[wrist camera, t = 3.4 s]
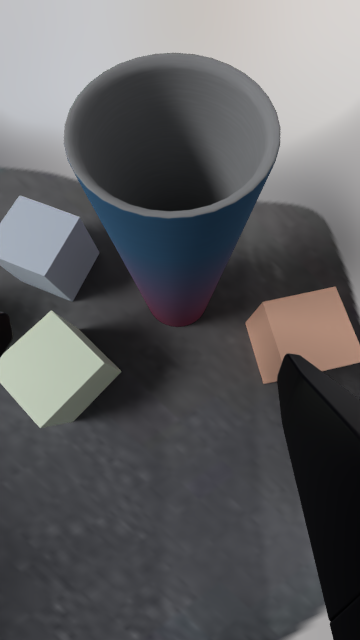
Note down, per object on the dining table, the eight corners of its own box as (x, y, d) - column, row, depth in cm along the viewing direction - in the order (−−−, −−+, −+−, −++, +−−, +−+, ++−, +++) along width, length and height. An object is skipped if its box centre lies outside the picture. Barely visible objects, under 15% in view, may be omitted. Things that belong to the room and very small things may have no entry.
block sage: (121, 371, 21) (104, 363, 17) (73, 421, 20) (39, 428, 15) (79, 329, 22) (51, 310, 18) (31, 375, 21) (-13, 368, 16)
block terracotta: (324, 369, 21) (366, 360, 17) (263, 383, 21) (287, 379, 16) (302, 310, 23) (335, 286, 18) (245, 323, 22) (262, 301, 18)
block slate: (99, 253, 24) (79, 217, 20) (72, 302, 23) (44, 276, 18) (50, 235, 25) (19, 195, 20) (21, 281, 24) (-19, 251, 19)
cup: (120, 307, 23) (16, 147, 8) (168, 248, 24) (149, 26, 10) (188, 354, 22) (203, 260, 7) (233, 288, 23) (319, 104, 9)
